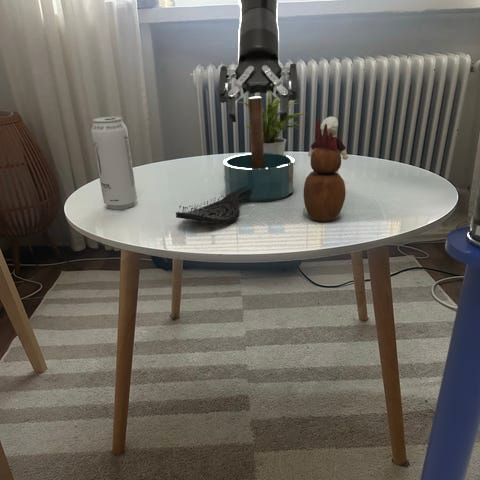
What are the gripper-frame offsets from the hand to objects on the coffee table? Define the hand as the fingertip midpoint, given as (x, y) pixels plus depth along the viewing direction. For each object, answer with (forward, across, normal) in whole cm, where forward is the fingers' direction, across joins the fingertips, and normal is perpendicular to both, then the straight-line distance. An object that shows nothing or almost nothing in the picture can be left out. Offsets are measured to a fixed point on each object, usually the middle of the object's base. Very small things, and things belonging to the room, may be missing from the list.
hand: (257, 118), depth 87 cm
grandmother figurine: (+5, +13, +14) cm, 20 cm away
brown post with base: (+7, 0, +11) cm, 13 cm away
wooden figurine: (+20, +11, 0) cm, 23 cm away
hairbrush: (+17, -5, +2) cm, 18 cm away
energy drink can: (+14, -25, +6) cm, 29 cm away
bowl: (+9, 0, +10) cm, 14 cm away
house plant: (-3, +1, +23) cm, 23 cm away
